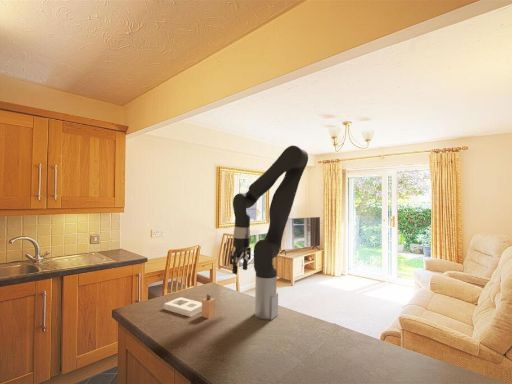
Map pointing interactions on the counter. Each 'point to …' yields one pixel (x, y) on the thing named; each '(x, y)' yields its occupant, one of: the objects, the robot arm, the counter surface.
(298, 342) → the counter surface
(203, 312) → the block
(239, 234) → the robot arm
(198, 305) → the power strip
